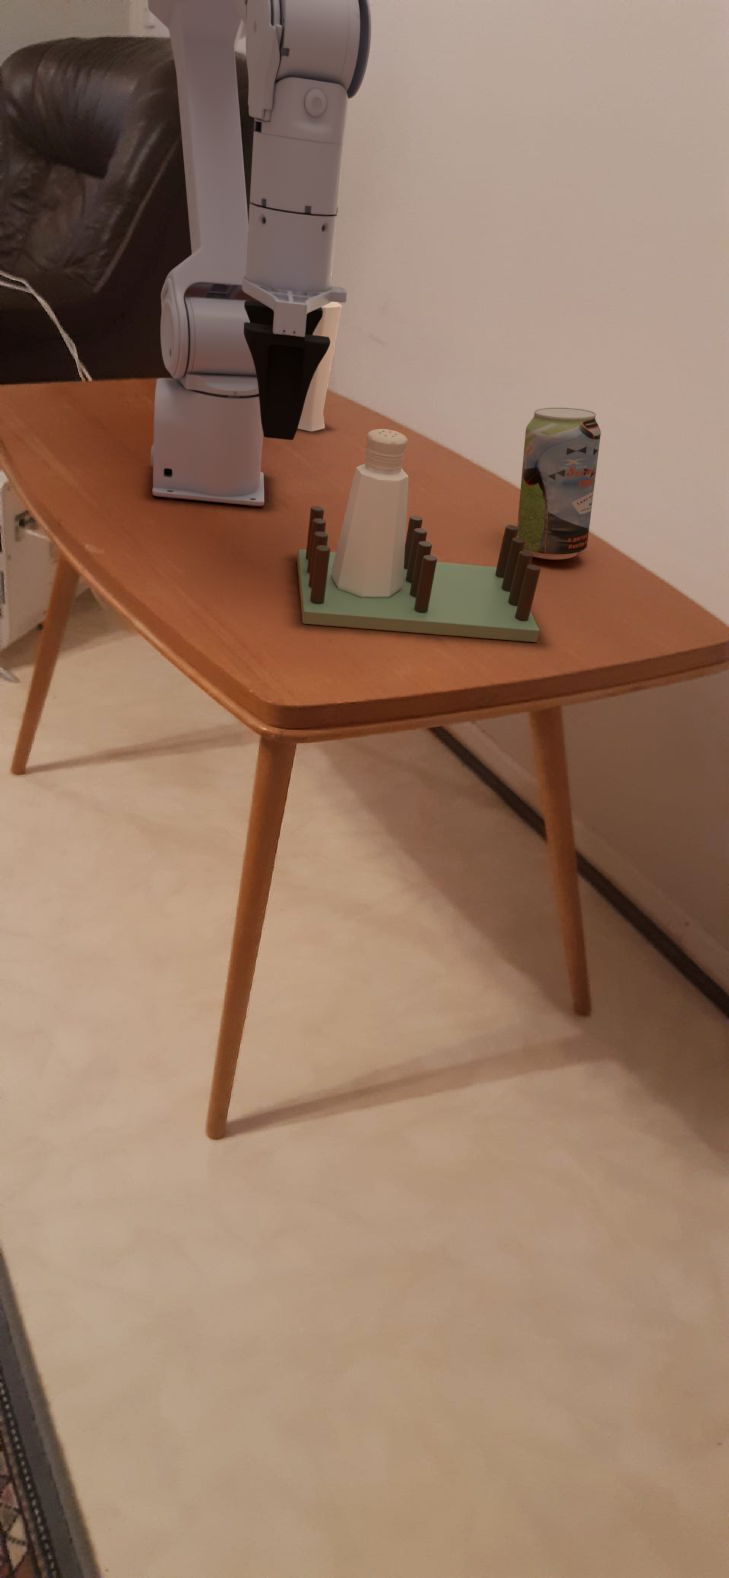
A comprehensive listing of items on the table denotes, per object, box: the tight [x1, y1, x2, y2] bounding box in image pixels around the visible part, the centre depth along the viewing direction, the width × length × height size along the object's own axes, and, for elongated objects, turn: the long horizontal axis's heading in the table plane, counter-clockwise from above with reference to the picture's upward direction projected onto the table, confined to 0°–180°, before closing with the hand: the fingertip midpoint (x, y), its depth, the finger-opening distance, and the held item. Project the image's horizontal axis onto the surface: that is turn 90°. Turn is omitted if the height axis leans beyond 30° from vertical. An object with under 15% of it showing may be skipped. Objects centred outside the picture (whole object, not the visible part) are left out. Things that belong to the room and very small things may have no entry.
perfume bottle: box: [297, 273, 343, 432], centre depth 106 cm, size 5×4×15 cm
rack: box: [296, 505, 541, 643], centre depth 76 cm, size 17×11×5 cm, turn 95°
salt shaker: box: [331, 428, 409, 598], centre depth 73 cm, size 5×5×11 cm
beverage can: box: [516, 407, 602, 560], centre depth 85 cm, size 6×7×12 cm
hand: (277, 422), depth 74 cm, fingers open, 7 cm apart
